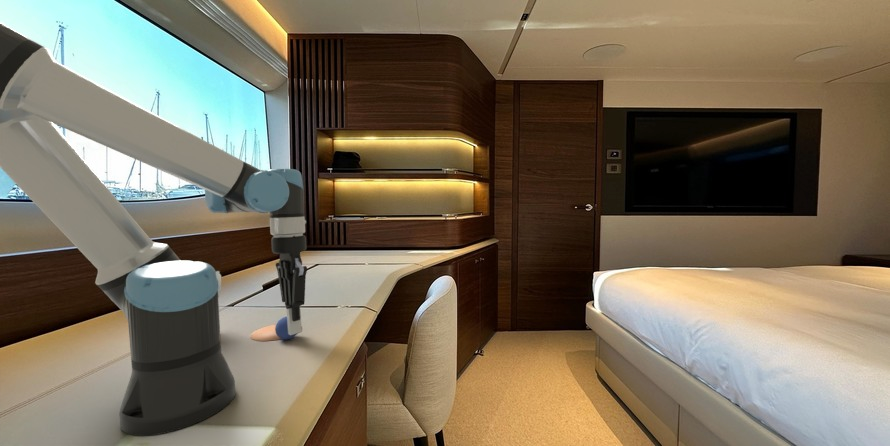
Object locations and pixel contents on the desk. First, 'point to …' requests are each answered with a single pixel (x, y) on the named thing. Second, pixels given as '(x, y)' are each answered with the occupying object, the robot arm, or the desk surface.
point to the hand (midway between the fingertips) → (294, 332)
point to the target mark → (265, 334)
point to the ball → (283, 329)
